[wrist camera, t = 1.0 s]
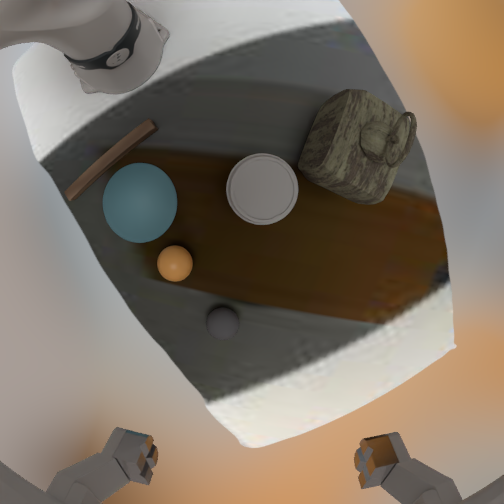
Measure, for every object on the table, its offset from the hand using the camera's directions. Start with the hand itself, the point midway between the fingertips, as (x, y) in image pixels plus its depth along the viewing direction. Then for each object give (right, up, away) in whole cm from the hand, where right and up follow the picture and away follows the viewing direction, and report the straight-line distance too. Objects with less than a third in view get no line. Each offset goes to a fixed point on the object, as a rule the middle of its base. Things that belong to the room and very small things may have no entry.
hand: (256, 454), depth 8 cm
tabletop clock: (+12, +26, +37) cm, 47 cm away
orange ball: (-13, +6, +37) cm, 39 cm away
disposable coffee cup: (0, +19, +38) cm, 42 cm away
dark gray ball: (-5, -5, +41) cm, 41 cm away
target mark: (-20, +16, +36) cm, 44 cm away
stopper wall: (-25, +24, +33) cm, 48 cm away
